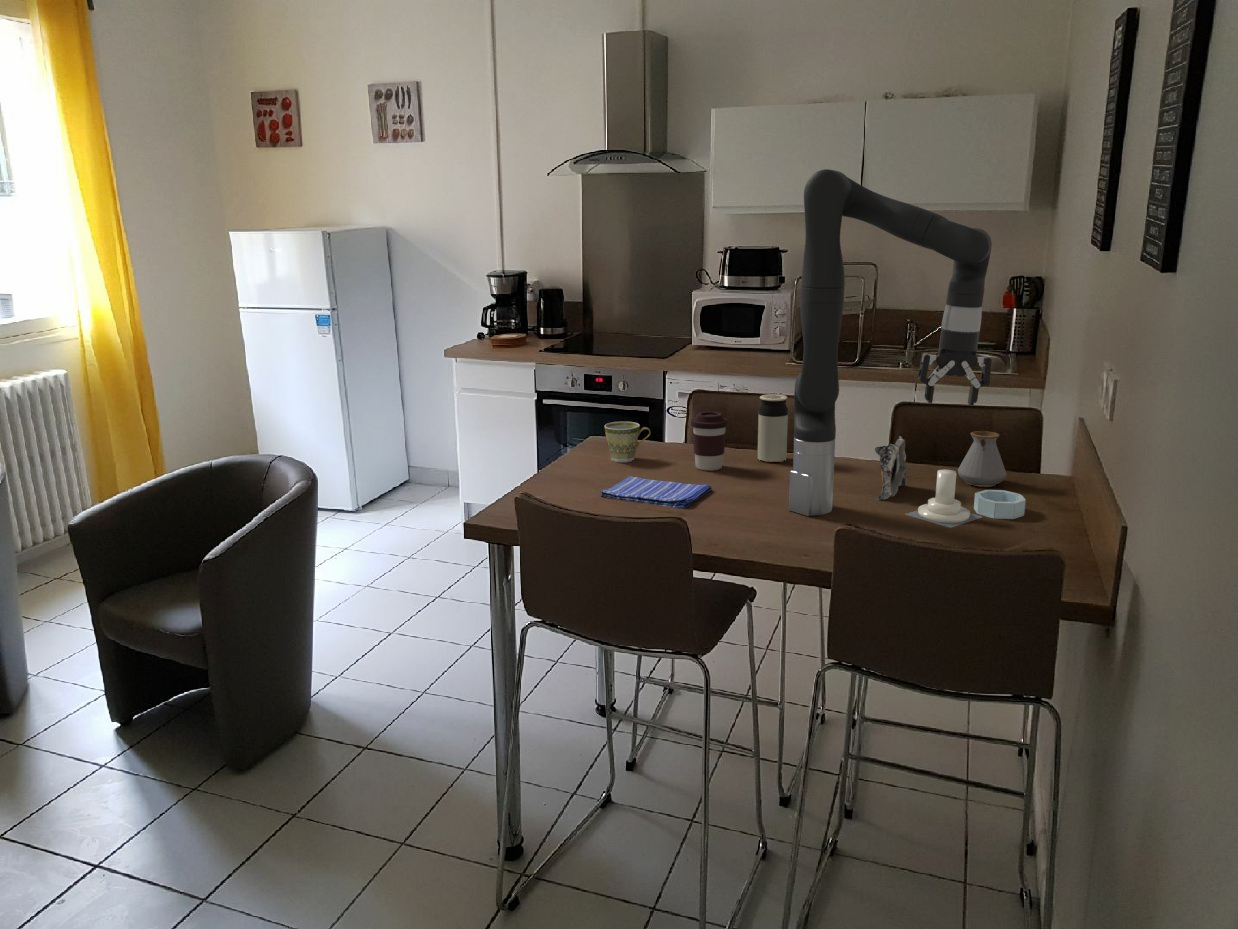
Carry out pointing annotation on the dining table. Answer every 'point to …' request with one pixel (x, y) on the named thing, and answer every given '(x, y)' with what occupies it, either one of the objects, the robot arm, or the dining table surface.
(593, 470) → the dining table surface
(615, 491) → the dish towel
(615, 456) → the ceramic cup
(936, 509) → the lid
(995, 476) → the coffee pot
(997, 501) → the bowl
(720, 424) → the coffee cup
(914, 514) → the mat
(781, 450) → the travel mug
